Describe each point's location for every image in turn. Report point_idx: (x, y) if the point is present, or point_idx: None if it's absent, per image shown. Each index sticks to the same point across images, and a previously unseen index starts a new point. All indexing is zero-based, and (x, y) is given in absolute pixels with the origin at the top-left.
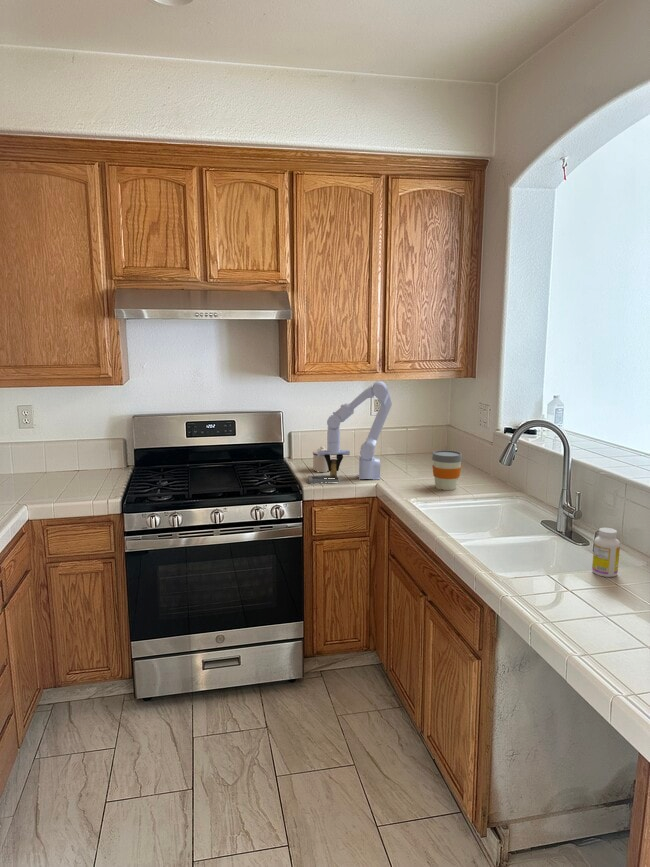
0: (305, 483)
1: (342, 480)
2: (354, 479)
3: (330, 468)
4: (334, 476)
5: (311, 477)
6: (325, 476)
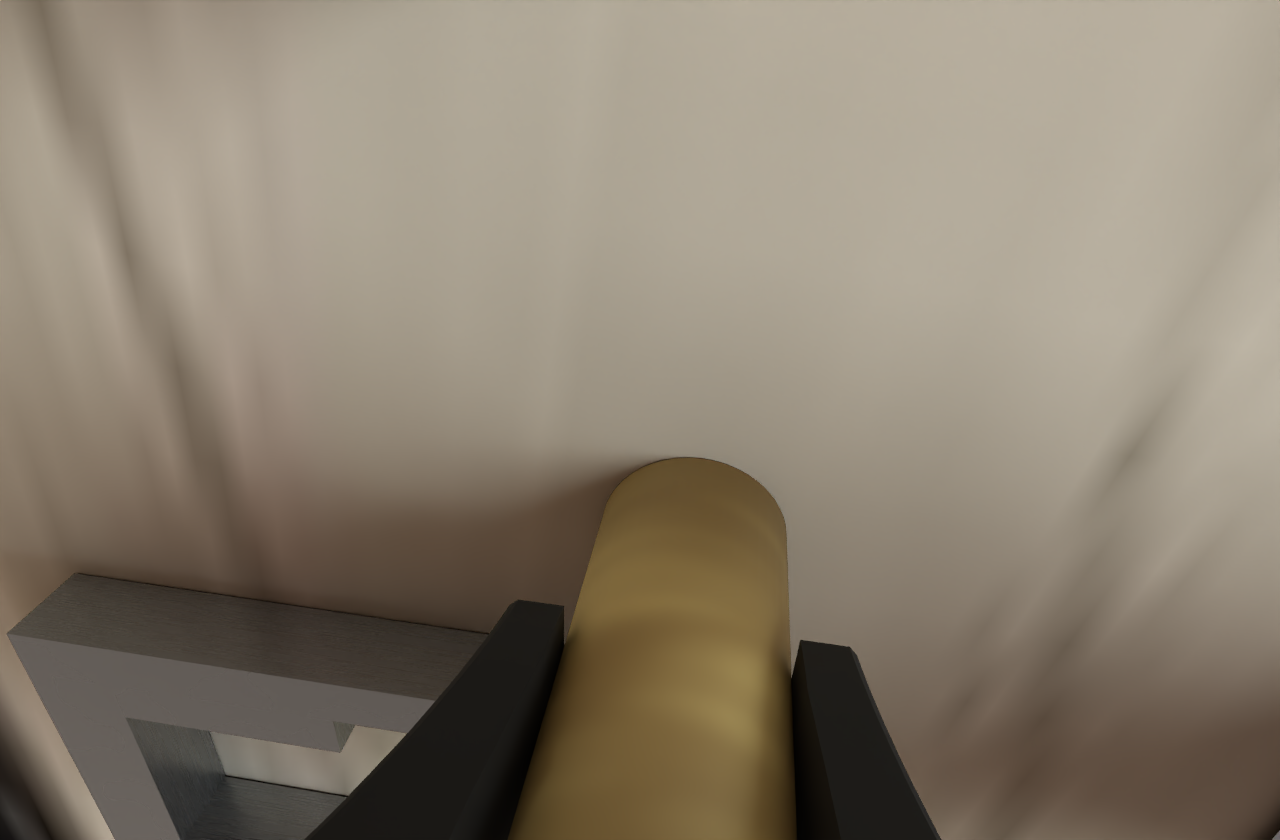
0: None
1: None
2: (1140, 811)
3: None
4: None
5: (128, 751)
6: None
